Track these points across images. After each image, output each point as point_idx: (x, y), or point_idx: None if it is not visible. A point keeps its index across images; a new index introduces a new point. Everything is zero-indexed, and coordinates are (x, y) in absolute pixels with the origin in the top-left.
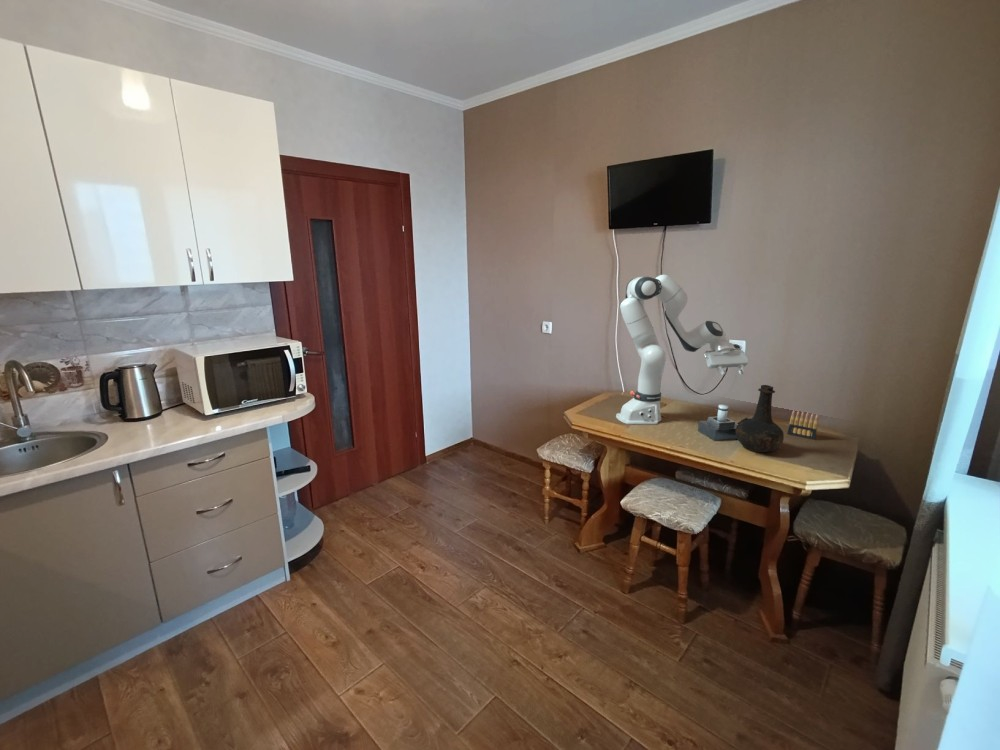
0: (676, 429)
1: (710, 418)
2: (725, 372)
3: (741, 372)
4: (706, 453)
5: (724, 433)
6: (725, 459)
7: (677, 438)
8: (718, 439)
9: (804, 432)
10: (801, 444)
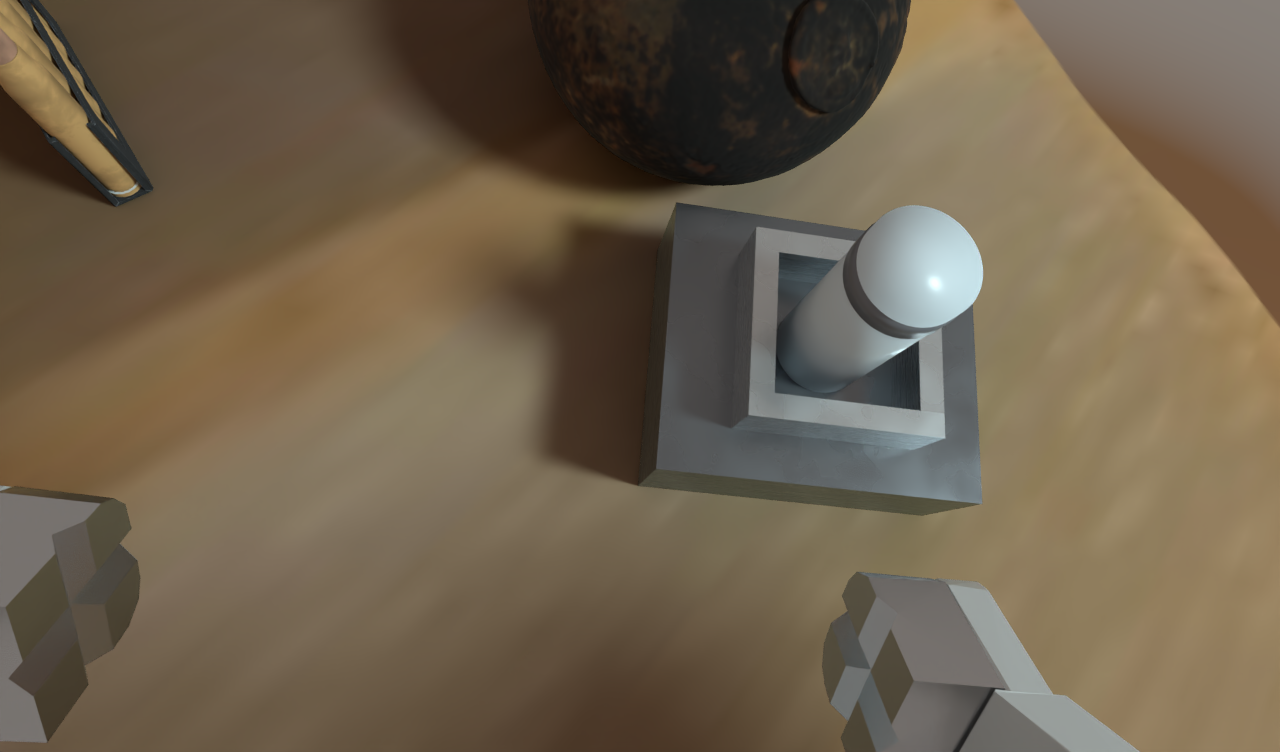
0: (1094, 612)
1: (942, 394)
2: (902, 599)
3: (107, 500)
4: (1095, 139)
5: None
6: (1026, 35)
7: (1174, 422)
8: None
9: (63, 54)
10: (280, 6)
